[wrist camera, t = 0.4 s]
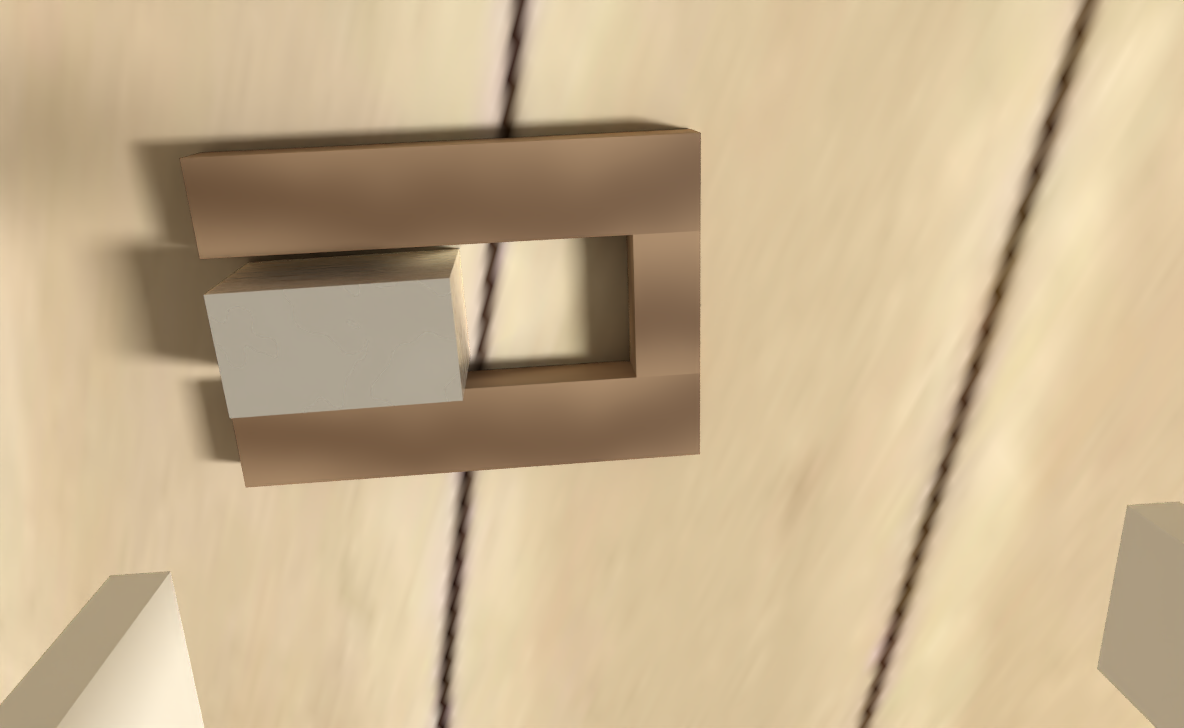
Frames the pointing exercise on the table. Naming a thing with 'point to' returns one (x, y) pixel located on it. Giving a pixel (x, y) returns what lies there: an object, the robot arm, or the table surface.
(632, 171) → the slot board
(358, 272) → the aluminium block
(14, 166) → the table surface
